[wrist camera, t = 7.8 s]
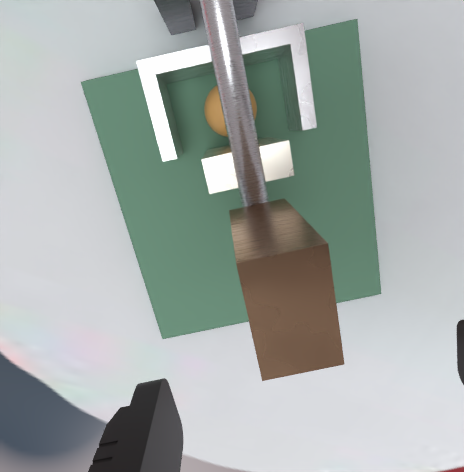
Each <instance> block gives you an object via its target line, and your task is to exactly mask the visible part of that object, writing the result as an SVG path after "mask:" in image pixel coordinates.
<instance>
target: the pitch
mask: <svg viewBox="0 0 464 472" xmlns="http://www.w3.org/2000/svg"><path fill="white" fill-rule="evenodd" d="M305 39H306V47H307V54H308V62H309V70H310V78H311V85H312V93H313V101H314V109H315V116H316V124H317V128H312V129H308V130H303V131H299V130H288V123H287V117H286V110H285V104H284V97H283V91H282V84H281V78H280V71H279V65H278V59H275V60H270V61H266V62H261V63H257V64H253V65H248V66H245V71H246V77H247V82H248V88H249V90H250V91H251V92H252V94H253V95H254V97H255V100H256V104H257V114H256V118H255V126H256V132H257V137H258V139H259V138H263V137H271V138H277V139H284V140H289V143H290V150H291V156H292V163H293V169H294V176H290V177H285V178H281V179H276V180H272V181H267V182H266V187H267V192H268V198H269V202H270V201H274V200H279V199H284V198H285V199H286V200H287V201H288V202H289V203H290V204H291V206H292V207H293V208H294V209H295V210H296V211H297V212H298V213H299V214H300V215H301V216H302V217H303V218H304V219H305V220H306V221H307V222H308V223H309V224H310V225H311V226H312V227H313V228H314V229H315V230H316V231H317V232H318V233H319V234H320V235H321V237H322V238H323V239H324V240H325V241H326V242H327V243H328V245H329V253H330V260H331V268H332V275H333V283H334V291H335V298H336V303H340V302H344V301H349V300H354V299H359V298H364V297H369V296H373V295H378V294H381V285H380V274H379V262H378V251H377V240H376V228H375V217H374V205H373V194H372V182H371V171H370V159H369V148H368V136H367V125H366V113H365V102H364V90H363V79H362V67H361V56H360V44H359V33H358V22H357V19H354V20H350V21H346V22H341V23H337V24H332V25H328V26H324V27H319V28H315V29H311V30H306V31H305ZM81 84H82V87H83V90H84V94H85V97H86V100H87V103H88V106H89V109H90V112H91V116H92V119H93V122H94V125H95V128H96V131H97V134H98V138H99V141H100V144H101V147H102V150H103V153H104V156H105V160H106V163H107V166H108V169H109V172H110V175H111V179H112V182H113V185H114V188H115V191H116V194H117V197H118V201H119V204H120V207H121V210H122V213H123V216H124V219H125V223H126V226H127V229H128V232H129V235H130V238H131V241H132V245H133V248H134V251H135V254H136V257H137V260H138V263H139V267H140V270H141V273H142V276H143V279H144V282H145V285H146V289H147V292H148V295H149V298H150V301H151V304H152V307H153V311H154V314H155V317H156V320H157V323H158V326H159V329H160V333H161V336H162V339H166V338H171V337H176V336H180V335H185V334H190V333H195V332H200V331H205V330H209V329H214V328H219V327H224V326H229V325H233V324H238V323H243V322H248V321H249V319H248V314H247V310H246V305H245V301H244V297H243V292H242V288H241V283H240V279H239V274H238V270H237V265H236V259H235V252H234V244H233V237H232V230H231V222H230V215H229V210H233V209H237V208H242V203H241V198H240V193H239V188H235V189H230V190H226V191H221V192H217V193H212V194H210V193H209V189H208V185H207V180H206V176H205V172H204V168H203V163H202V158H203V156H204V154H205V152H206V151H207V150H209V149H213V148H218V147H222V146H227V145H229V140H228V137H225V136H222V135H219V134H218V133H216V132H215V131H214V130H212V128H211V127H210V126H209V124H208V123H207V120H206V118H205V113H204V105H205V101H206V98H207V96H208V94H209V92H210V91H211V90H212V89H213V88H214V87H215V86H216V85H217V82H216V77H215V73H213V74H208V75H204V76H200V77H195V78H191V79H186V80H182V81H178V82H173V83H169V84H166V85H167V89H168V93H169V97H170V101H171V105H172V109H173V113H174V117H175V121H176V125H177V129H178V133H179V137H180V141H181V145H182V149H183V153H184V154H182V155H181V156H179V157H178V158H176V159H172V160H167V161H163V160H162V156H161V152H160V149H159V145H158V141H157V137H156V134H155V130H154V126H153V123H152V119H151V115H150V111H149V108H148V104H147V100H146V96H145V93H144V89H143V85H142V81H141V78H140V74H139V70H138V69H135V70H131V71H127V72H122V73H118V74H113V75H109V76H105V77H100V78H96V79H92V80H87V81H83V82H81Z"/></svg>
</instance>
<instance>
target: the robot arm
mask: <svg viewBox="0 0 464 472" xmlns="http://www.w3.org/2000/svg"><path fill="white" fill-rule="evenodd" d="M457 364H458V373H459V376H460V379H461V381H462V383H463V385H464V320H460V321H459V322H458V324H457ZM182 451H183V430H182V424H181V420H180V417H179V414H178V411H177V408H176V405H175V402H174V398H173V395H172V392H171V389H170V386H169V383H168V381H167V380H166V379H160V380H155V381H150V382H145V383H140V384H138V385H137V386H136V389H135V391H134V394H133V397H132V400H131V403H130V406H126V407H121V408H120V409H119V410H118V411H117V412H116V414H115V415H114V416H113V418H112V419H111V420H110V421H109V423H108V424H107V425H106V428H105V430H104V433H103V435H102V438H101V440H100V443H99V448H97V451H96V453H95V456H94V458H93V465H91V466H90V469H89V471H88V472H180V467H181V459H182Z"/></svg>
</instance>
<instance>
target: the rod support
mask: <svg viewBox="0 0 464 472" xmlns="http://www.w3.org/2000/svg"><path fill="white" fill-rule="evenodd" d="M154 1H155V3H156V5H157V7H158V9H159V11H160V13H161V15H162V17H163V20H164V22H165V24H166V26H167V28H168V30H169V32H170V34H171V35H174V34H178V33H183V32H187V31H191V30H196V27H195V23H194V18H193V13H192V9H191V4H190V0H154ZM257 2H258V0H233V5H234V11H235V16H236V20H239V19H244V18H248V17H252V16H253V15H254V12H255V8H256V5H257Z"/></svg>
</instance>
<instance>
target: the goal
mask: <svg viewBox="0 0 464 472" xmlns="http://www.w3.org/2000/svg"><path fill="white" fill-rule="evenodd" d="M239 38H240V44H241V49H242V55H243V60H244V66H248V65H253V64H257V63H261V62H266V61H270V60H275V59H278V65H279V71H280V78H281V84H282V91H283V97H284V104H285V110H286V117H287V123H288V130H299V131H303V130H308V129H312V128H317V124H316V116H315V109H314V101H313V93H312V85H311V78H310V70H309V62H308V54H307V47H306V39H305V31H304V24H303V23H300V24H296V25H292V26H287V27H283V28H279V29H274V30H270V31H265V32H261V33H257V34H252V35H248V36H244V37H239ZM136 63H137V67H138V70H139V74H140V78H141V81H142V85H143V89H144V93H145V96H146V100H147V104H148V108H149V111H150V115H151V119H152V123H153V126H154V130H155V134H156V137H157V141H158V145H159V149H160V152H161V156H162V160H163V161H167V160H172V159H176V158H178V157H179V156H181V155H182V154H184V153H183V149H182V145H181V141H180V137H179V133H178V129H177V125H176V121H175V117H174V113H173V109H172V105H171V101H170V97H169V93H168V89H167V85H166V84H169V83H173V82H178V81H182V80H186V79H191V78H195V77H200V76H204V75H208V74H213V73H215V72H214V67H213V63H212V58H211V53H210V48H209V45H204V46H200V47H196V48H191V49H187V50H182V51H178V52H174V53H169V54H165V55H161V56H156V57H152V58H147V59H143V60H139V61H136Z"/></svg>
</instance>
